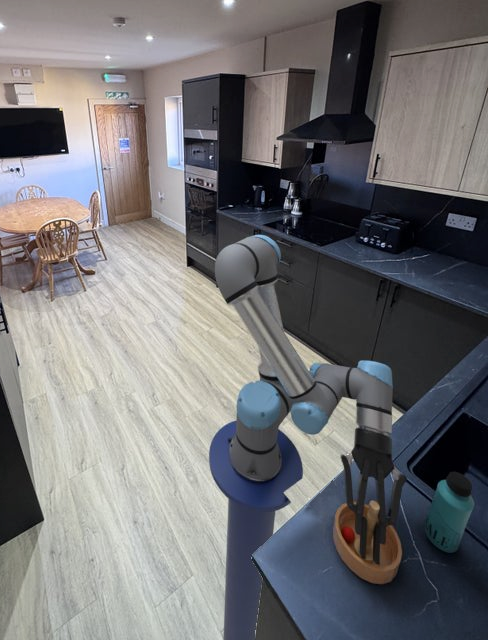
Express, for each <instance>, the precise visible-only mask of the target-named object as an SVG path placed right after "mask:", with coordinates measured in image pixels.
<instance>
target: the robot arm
mask: <svg viewBox="0 0 488 640" xmlns="http://www.w3.org/2000/svg"><path fill="white" fill-rule="evenodd" d="M281 258H282V253H281V249H280V247H279V246H278V244H277V242H276V241H275V240H273V239H272V238H270V237H269V236H268V235H264V234H255V235H251V236H247V237H245V238H243V239H241V240H239V241H237V242H235V243H232V244H229V245H226V246H225V247H224V248H222V250H220V252H219V253H218V254H217V256H216V259H215V263H214V276H215V280H216V285H217V287H218V290H219V292H220V294H221V296H222V299H223V300H224V301H225V303H226V305H227V306H230V307H233V309H234V310H235V312H236V313H237V315H238V317H239V318H240V320H241V321H242V322H243V325H244V326H245V328H246V329H247V331H248V332H249V334H250V336H251V338H252V339H253V340H254V342H255V344H256V345H257V348H258V353H259V356H260V357H259V358H260V362H259V363H258V364H257V372H258V375H259V380H256V381H255V382H254V381H250V382H247V383H246V384H244V385H243V386H242V387H241V389H240V390H239V392H238V395H237V399H236V405H235V406H236V407H235V408H236V420H235V421H236V433H235V435H234V437H233V438H228V441H231V443H230V446H229V459H230V463H231V465H232V467H233V469H234V470H235V472H236V473H237V474H238V475H239V476H240V477H242V478H243V479H245V480H247V481H249V482H252V483H257V484H263V483H268V482H270V481H272V480H274V479H275V478H276V477H277V476H278V474H279V472H280V469H281V463H282V456H281V452H280V449H279V446H278V443H277V435H278V429H279V428H280V426H281V424H282V423H283V422H284V420H285V419H286V417H288V415H289V414H290V418H291V421H292V423H293V424H294V425H295V426H296V428H298V430H300V431H301V432H303V433H304V434H307V435H311V436H313V435H315V436H316V435H318V434H320V433H321V432H322V430H323V429H324V428H325V426H326V425H328V424H329V420H330V419H331V417H332V415H333V413H334V411H335V409H336V408H337V407H338V405H339V404H340V402H341V400H342V399H343V398H345V399H351V400H355V401H356V402H355V425H356V426H357V427H355V429H354V440H353V441H354V442H353V448H352V450H351V452H350V453H347V454H343V453H342V454H340V455H339V458H340V461H341V464H342V467H343V475H344V488H345V490H344V491H345V500H346V502H345V503H347V506H348V507H349V509H351V510H352V511H353V512H354V513H355V531H356V534H358V535H360V551H359V553H360V555H361V558H363V559H366V534H367V520H366V518H365V517H364V516H363V513H364V505H365V504H366V496H367V489H368V488H367V487H368V481H369V478H373V479H374V483H375V496H376V497H375V498H376V502H377V503H378V504H379V506H380V509H379V513H378V522H376V526H375V530H374V534H373V560H374V562H375V564H378V565H380V544H383V545H385V544H386V527H387V526H388V525H392V526H393V527H396V526H397V524H398V519H399V512H400V506H401V499H402V493H403V488H404V485H405V484H406V483H407V481H408V477H407V476H406V475H405V474H404V473H402V472H401V471H399V470H398V469H397V468H396V467H395V463H394V461H393V439H392V437H390V435H392V434H393V391H394V390H393V388H394V385H393V372H392V369H391V367H389V366H388V365H387V364H384V363H381V362H378V361H373V360H359V361H358V365H357V367H350V366H343V365H337V364H331V363H327V362H325V363H324V362H314V363H312V364H311V365H310V367H309V369H308V367H307V366H306V364H305V362H304V361H303V360H302V358H301V356H300V355H299V353H298V351H297V350H296V349H295V347H294V345H293V344H292V343H291V340H290V339H289V337H288V336H287V334H286V333H285V331H284V330H285V329H284V325H283V319H282V315H281V310H280V305H279V302H278V295H277V290H276V286H275V285H276V283H277V282H278V280H279V274H278V270H277V267H278V266H279V264H280V262H281V260H282V259H281ZM353 461H354V463H355V465H356V467H357V468H358V471H359V478H358V487H357V494H356V501H355V500H354V490H353V479H352V469H351V466H352V465H353ZM391 473H392V479H393V482H392V486H391V487H392V489H391V493H390V498H389V506H388V511H387V507H386V506H387V505H386V494H385V492H386V491H385V480H386V479H387V477H389V476H390V474H391ZM354 502H356V505H355V504H354Z"/></svg>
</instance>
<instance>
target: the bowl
mask: <svg viewBox="0 0 488 640" xmlns="http://www.w3.org/2000/svg"><path fill="white" fill-rule="evenodd" d="M354 504H355V505H356V501H354ZM368 508H369V504H367V503H365V505H364V513H363V516H364V517H365V518H366V517H367V513H368ZM377 522H378V517H377ZM332 526H333V527H332V538H333V542H334V545H335V546H334V547H335V549H336V551H337V552H338V555H339V557H340V558H341V560H342V561H343V562H344V564H345V565H346V566H347V567H348V569H349V570H350V571H351V572H353V573H354V574H355V575H356V576H358V577H359V578H360V579H362V580H364V581H367V582H368V583H371V584H378V585H385V584H387V583H391V582H392V581H393V580H394V578H396V576H397V574H398V570H399V567H400V564H401V560H402V556H403V550H402V543H401V539H400V537H399V535H398V533H397V531H396V529H395V527H394V526H393V525H388V526H387V527H386V544H385V545H383V544H380V565H378V564H375V562H374V561H373V562H372V563H371V564H369V563H367V562H365V561H363V560H362V559H361V558H359V557H358V556H357V555H356V554H355V552H354V543H355V541H356V540H357V539H359V538H360V535H358V534H356V531H355V513H354V512H353V511H352V510H351V509H349V507H348V506H347V503H346V502H344V503H343V504H340V506H339V507H337V510H336V513H335V515H334V520H333V525H332ZM344 526H348V527H350V528H351V529H352V530H353V531H354V534H355V540H354V541H353V542H351V543H350V542H347V541H346V540H345V539H344V538H343V536H342V532H341V531H342V528H343V527H344ZM371 545H372V547H373V538H372V542H371Z"/></svg>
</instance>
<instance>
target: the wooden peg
mask: <svg viewBox="0 0 488 640" xmlns="http://www.w3.org/2000/svg"><path fill="white" fill-rule="evenodd" d="M368 505H369V508H368V513H367V517H366V520H367V534H366V559H363V558H361V555H360V553H359V551H360V538H359V539H357V540H356V541H355V543H354V552H355V554H356V555H357V556H358V557H359V558H361V559H362V560H363V561H365V562H367V563H369V564H371V563H372V562H373V561H374V560H373V547H372V545H371V542H372V538H373V534H374V530H375V526H376V522H377V517H378V513H379V509H380V506H379V504H378V503H377V501H375V500H370V501H369V504H368Z"/></svg>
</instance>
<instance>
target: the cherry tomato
mask: <svg viewBox="0 0 488 640" xmlns="http://www.w3.org/2000/svg"><path fill="white" fill-rule="evenodd" d="M341 532H342V536H343V538H344V539H345V540H346V541H347V542H350V543H351V542H353V541H354V540H355V534H354V531H353V530H352V529H351V528H350V527H348V526H344V527H343V528H342V531H341Z"/></svg>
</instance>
